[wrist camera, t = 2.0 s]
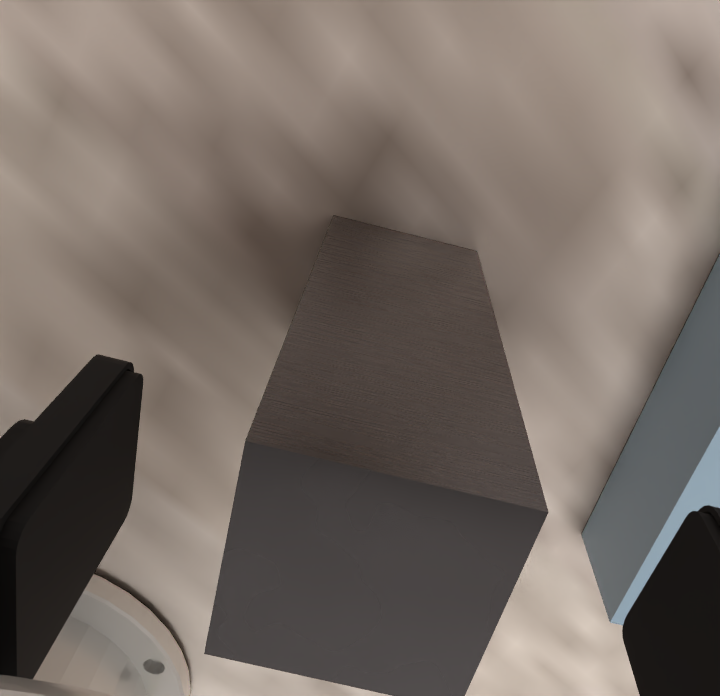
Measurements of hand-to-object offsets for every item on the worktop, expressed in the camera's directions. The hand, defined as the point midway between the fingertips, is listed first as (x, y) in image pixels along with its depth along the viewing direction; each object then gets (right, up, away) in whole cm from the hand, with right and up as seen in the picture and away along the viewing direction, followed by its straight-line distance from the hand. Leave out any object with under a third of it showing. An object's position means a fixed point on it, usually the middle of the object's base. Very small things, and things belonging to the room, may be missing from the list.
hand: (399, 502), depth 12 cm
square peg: (0, +4, +10) cm, 11 cm away
